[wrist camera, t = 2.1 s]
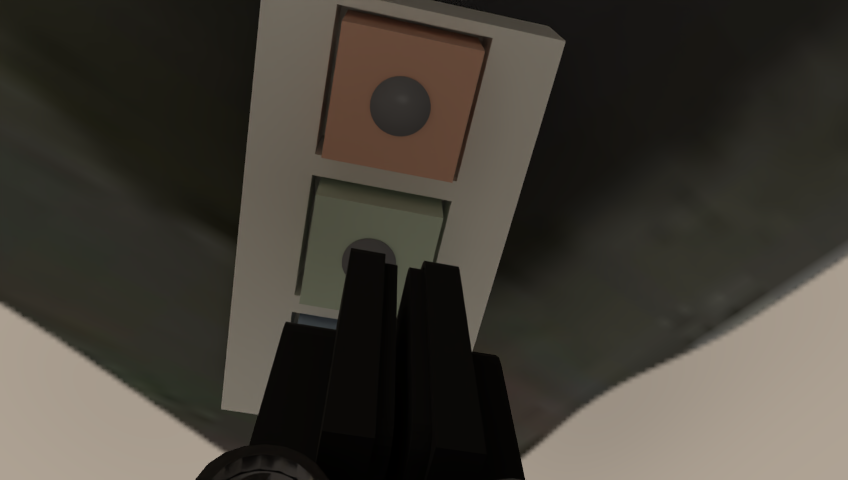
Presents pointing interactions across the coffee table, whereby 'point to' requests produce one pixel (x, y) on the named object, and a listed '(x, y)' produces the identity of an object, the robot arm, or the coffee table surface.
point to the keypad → (303, 167)
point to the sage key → (365, 235)
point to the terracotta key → (401, 96)
